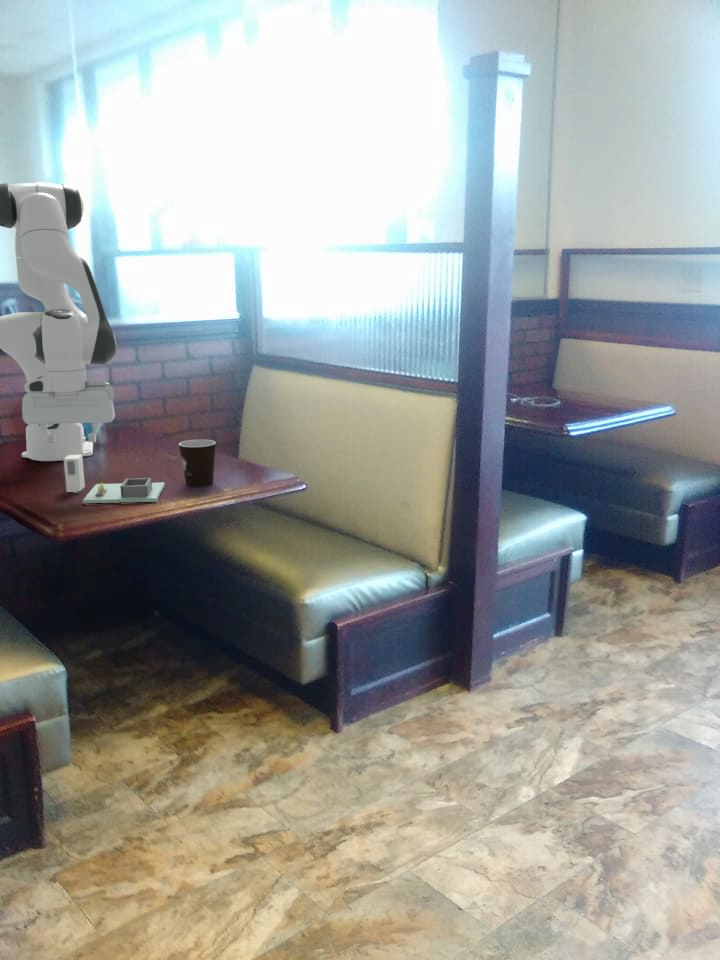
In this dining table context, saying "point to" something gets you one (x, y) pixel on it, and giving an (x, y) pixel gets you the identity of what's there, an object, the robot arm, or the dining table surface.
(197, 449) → the coffee mug
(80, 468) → the plug
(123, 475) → the dining table surface
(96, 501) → the board
